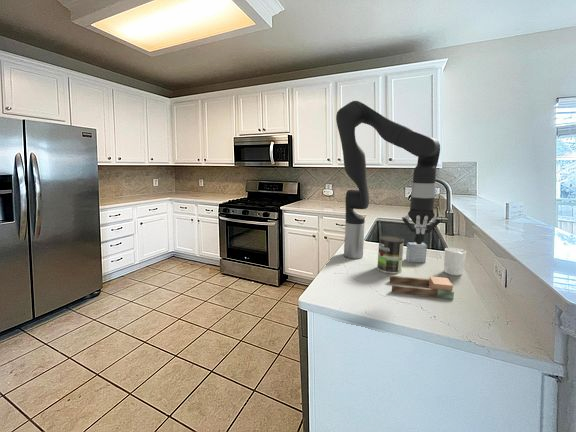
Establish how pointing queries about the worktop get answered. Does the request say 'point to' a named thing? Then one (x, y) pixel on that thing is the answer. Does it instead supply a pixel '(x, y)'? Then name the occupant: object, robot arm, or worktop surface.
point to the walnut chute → (418, 290)
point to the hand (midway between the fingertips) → (418, 243)
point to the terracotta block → (440, 283)
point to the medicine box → (416, 252)
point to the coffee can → (390, 254)
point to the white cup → (454, 261)
